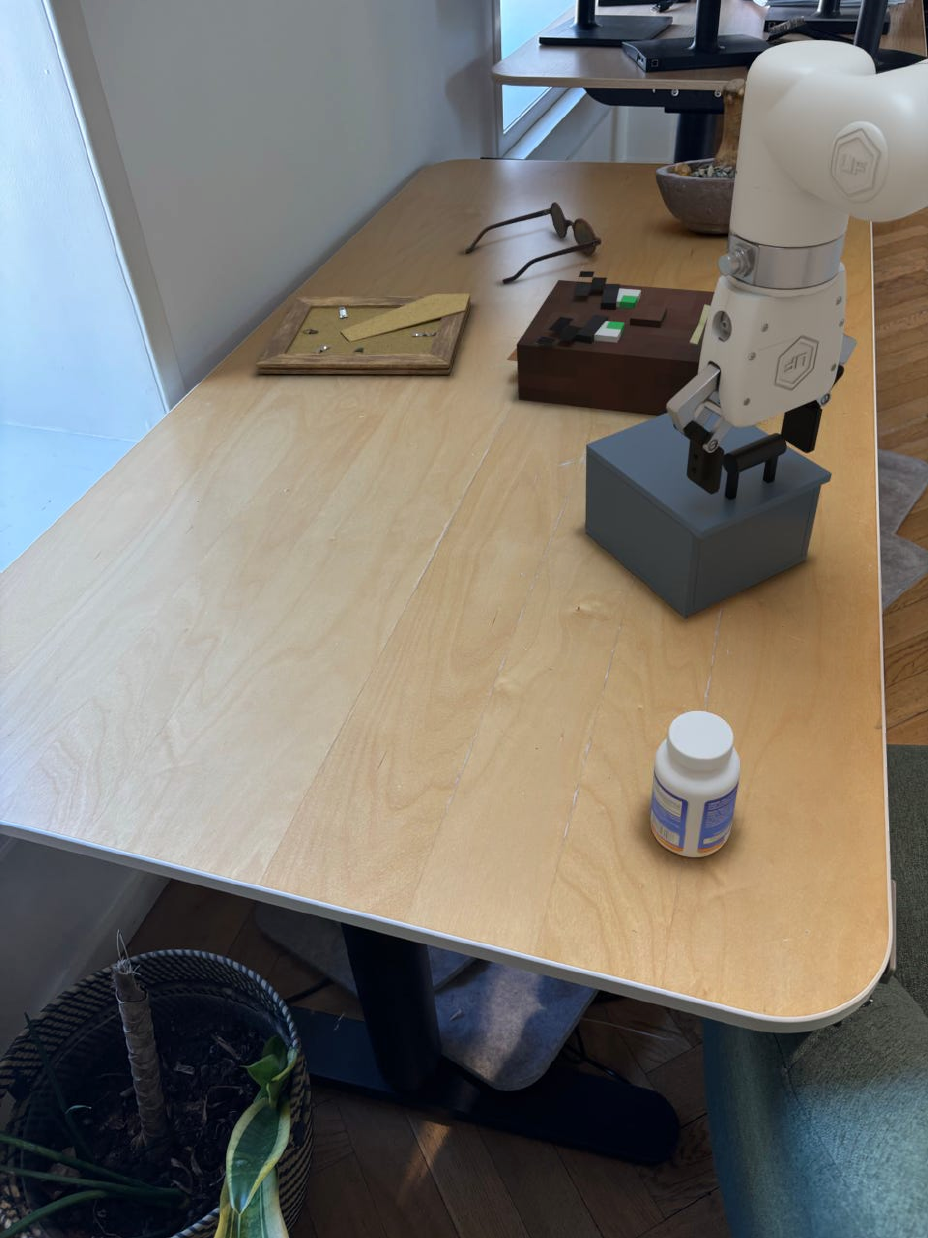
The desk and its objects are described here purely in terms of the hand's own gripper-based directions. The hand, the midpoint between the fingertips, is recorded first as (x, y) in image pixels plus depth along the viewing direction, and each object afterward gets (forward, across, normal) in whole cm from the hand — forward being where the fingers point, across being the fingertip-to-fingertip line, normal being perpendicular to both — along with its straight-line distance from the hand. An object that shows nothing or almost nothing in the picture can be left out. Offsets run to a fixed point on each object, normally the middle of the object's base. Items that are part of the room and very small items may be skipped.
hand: (750, 464), depth 79 cm
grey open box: (+12, 0, +6) cm, 13 cm away
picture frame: (+13, -6, +62) cm, 63 cm away
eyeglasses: (+13, +24, +70) cm, 76 cm away
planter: (+13, +51, +60) cm, 80 cm away
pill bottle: (+12, -20, -18) cm, 30 cm away
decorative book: (+12, +16, +33) cm, 39 cm away
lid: (+3, 0, +5) cm, 6 cm away
